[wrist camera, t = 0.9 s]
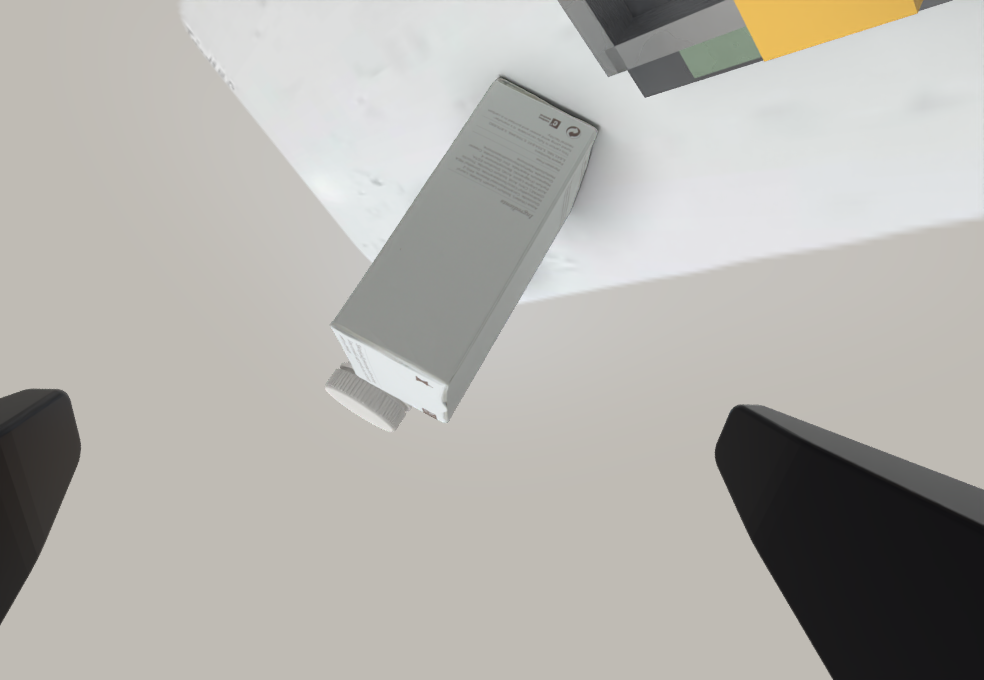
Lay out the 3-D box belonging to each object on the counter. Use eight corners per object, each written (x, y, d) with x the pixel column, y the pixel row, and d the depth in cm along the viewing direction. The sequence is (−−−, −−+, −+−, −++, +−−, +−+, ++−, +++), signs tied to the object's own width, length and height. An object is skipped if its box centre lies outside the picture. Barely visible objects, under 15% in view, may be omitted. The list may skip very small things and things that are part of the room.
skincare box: (498, 71, 31) (317, 315, 26) (609, 128, 31) (445, 389, 26) (486, 173, 39) (345, 376, 34) (574, 220, 38) (443, 433, 33)
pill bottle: (435, 240, 51) (323, 400, 46) (424, 176, 43) (289, 359, 38) (524, 284, 49) (418, 455, 44) (529, 226, 42) (403, 424, 37)
